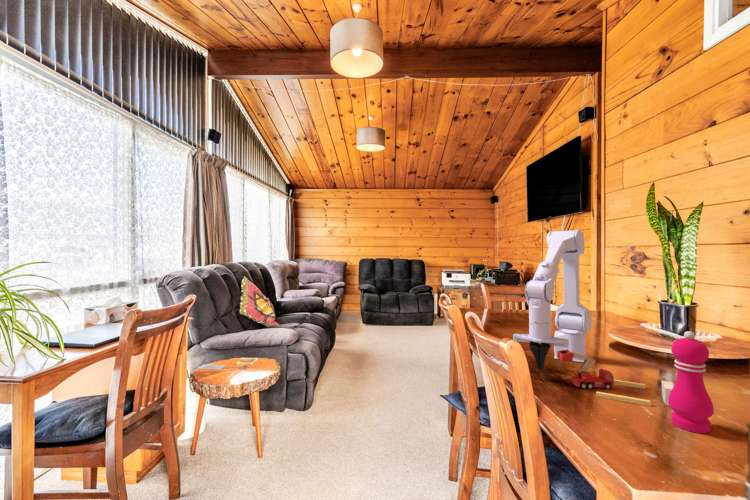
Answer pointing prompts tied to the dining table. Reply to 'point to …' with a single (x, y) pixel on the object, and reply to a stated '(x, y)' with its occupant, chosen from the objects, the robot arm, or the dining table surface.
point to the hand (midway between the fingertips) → (540, 368)
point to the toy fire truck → (585, 377)
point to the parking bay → (666, 387)
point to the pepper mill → (690, 386)
